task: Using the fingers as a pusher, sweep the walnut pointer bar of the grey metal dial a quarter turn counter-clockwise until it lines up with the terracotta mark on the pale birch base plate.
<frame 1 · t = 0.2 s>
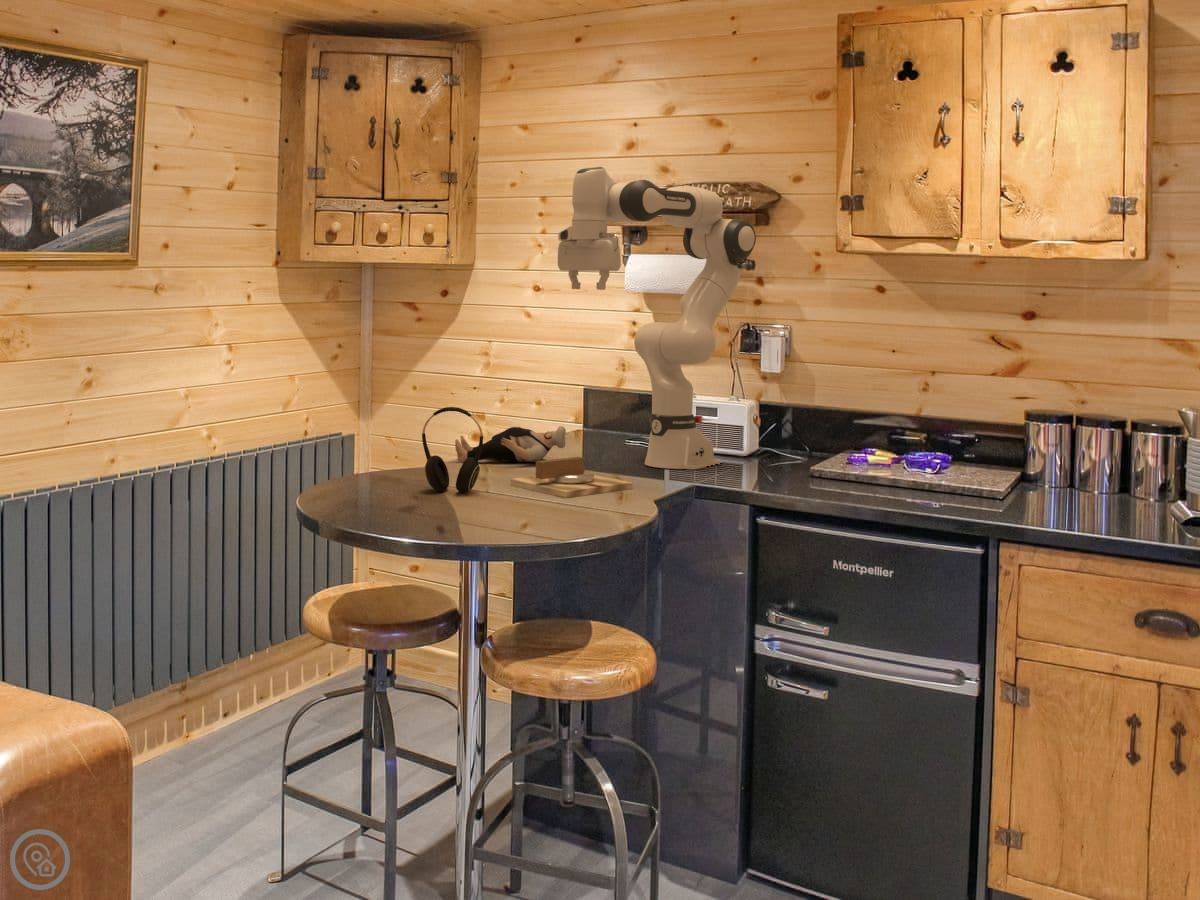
hand: (588, 289, 281), 47 cm above the countertop, tool pointing down, fingers open, 8 cm apart
dial plate: (571, 486, 272), on the countertop
headphones: (452, 492, 263), on the countertop
dial: (564, 469, 270), point 4 cm above the countertop, hinge at 0.0°
figurine: (511, 462, 310), on the countertop
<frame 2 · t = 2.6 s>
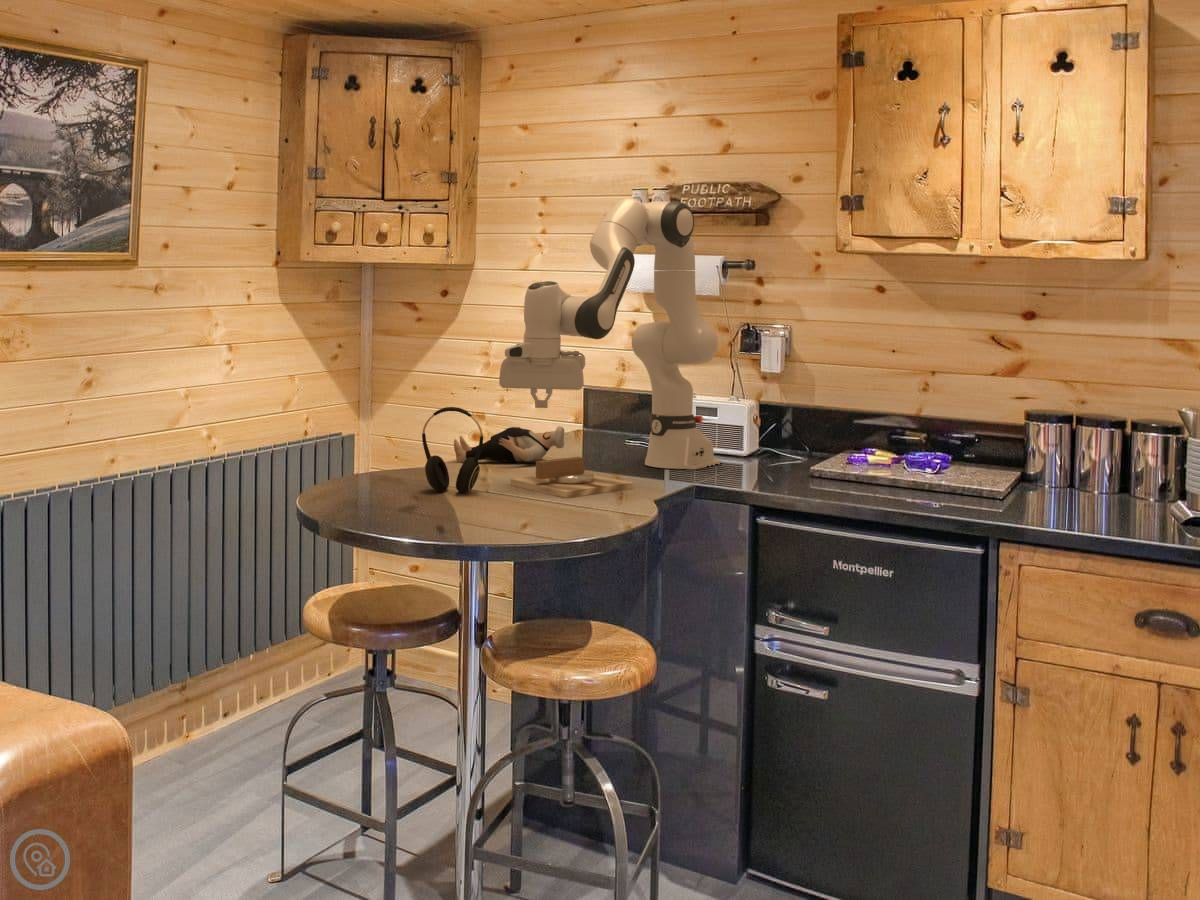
hand: (541, 407, 270), 19 cm above the countertop, tool pointing down, fingers closed
nothing on the countertop moved.
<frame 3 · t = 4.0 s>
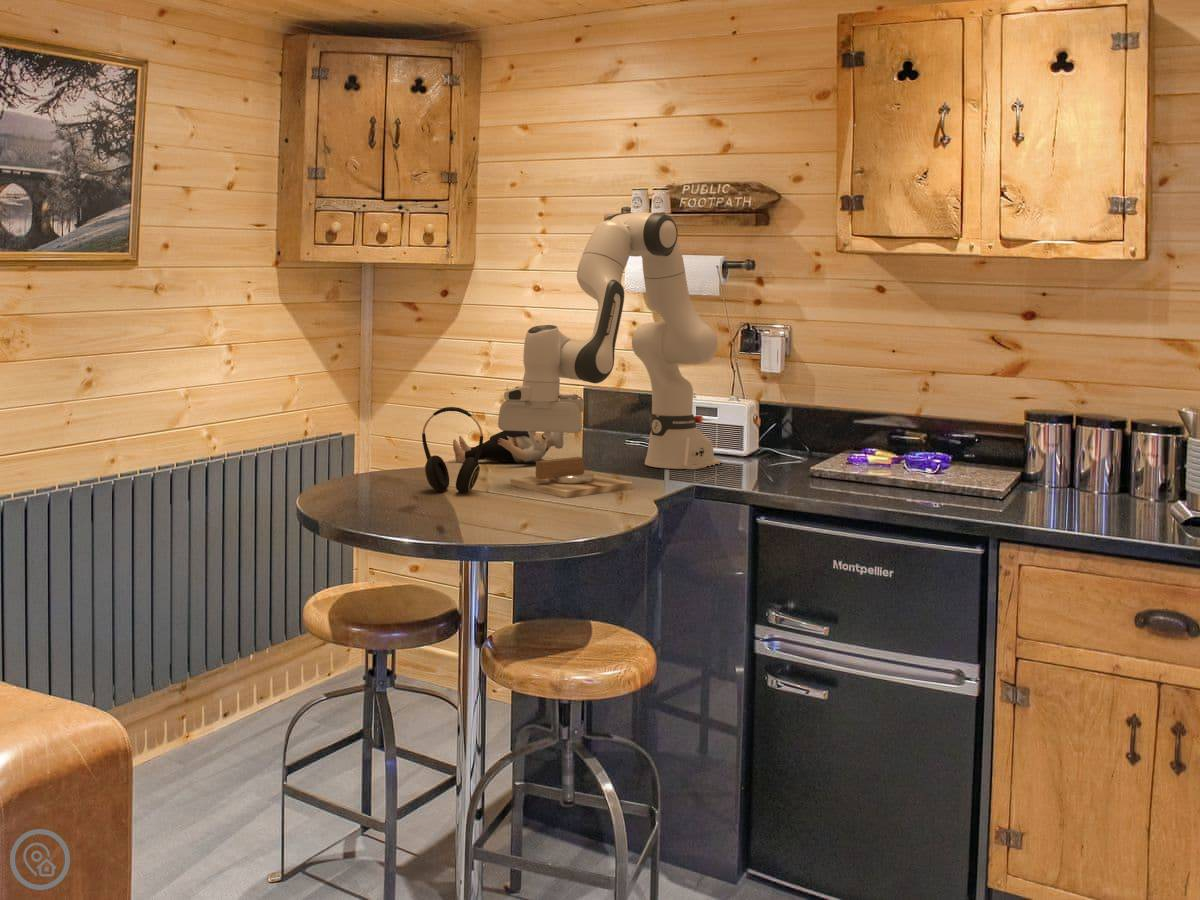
hand: (539, 450, 271), 9 cm above the countertop, tool pointing down, fingers closed
nothing on the countertop moved.
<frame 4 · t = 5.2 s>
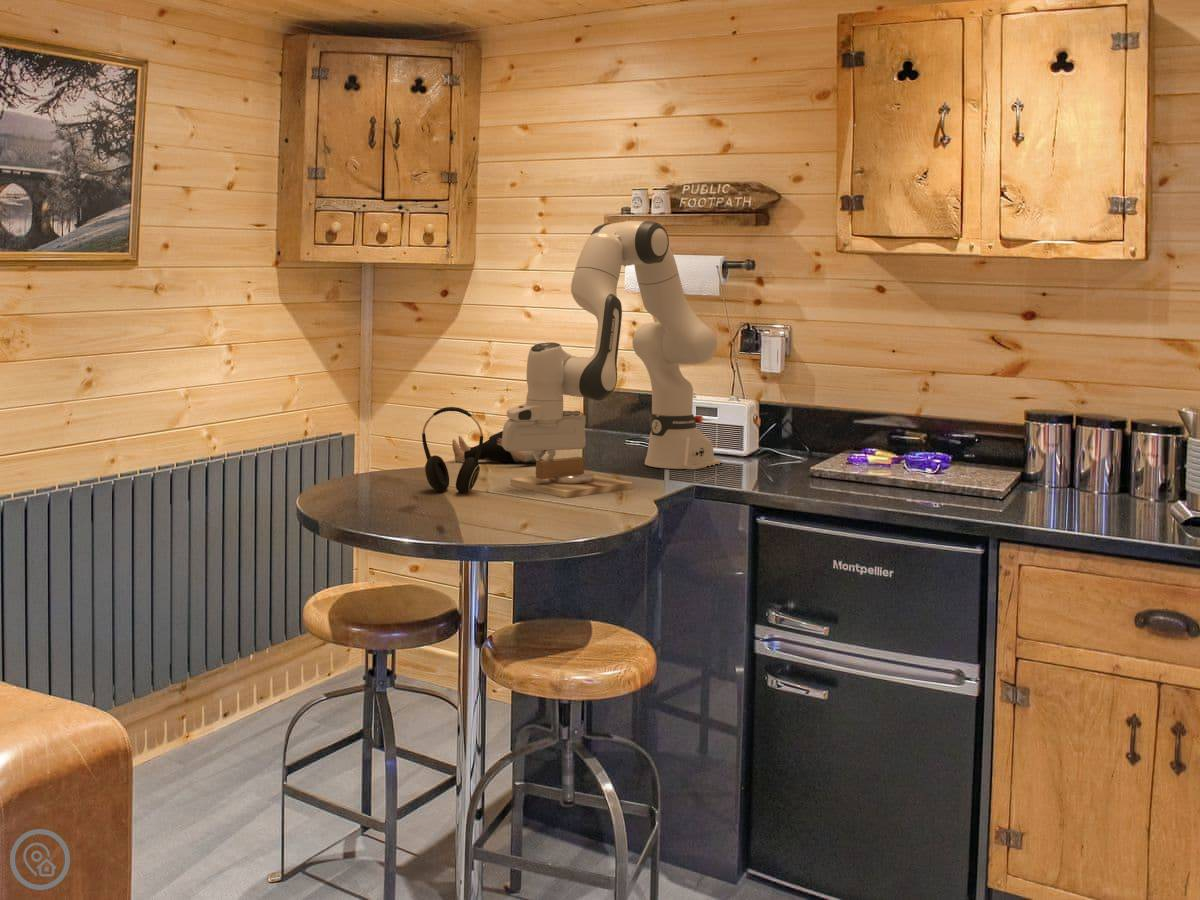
hand: (543, 468, 269), 5 cm above the countertop, tool pointing down, fingers closed
dial: (564, 469, 270), point 4 cm above the countertop, hinge at 0.1°, touching gripper
everything else where it was.
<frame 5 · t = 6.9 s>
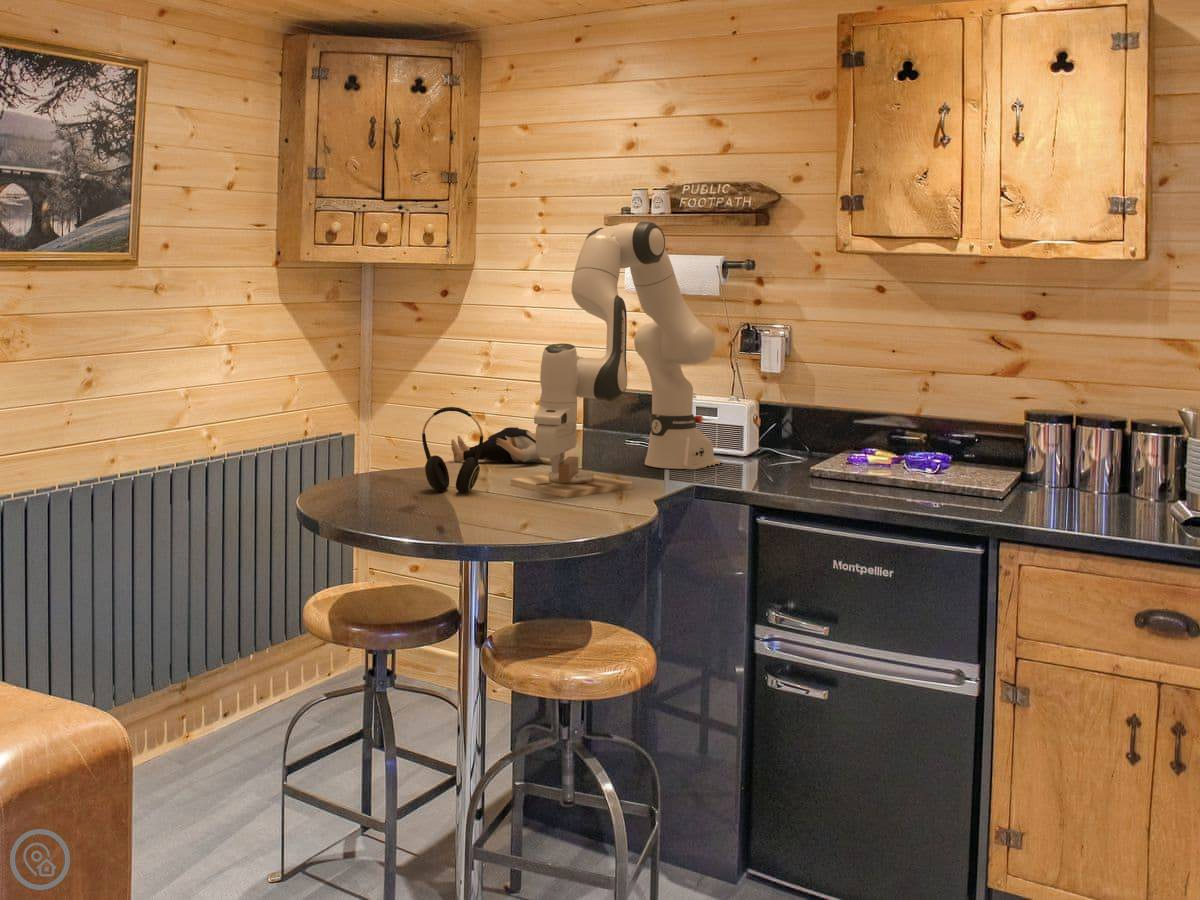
hand: (556, 471, 265), 5 cm above the countertop, tool pointing down, fingers closed
dial: (569, 470, 269), point 4 cm above the countertop, hinge at 39.9°, touching gripper
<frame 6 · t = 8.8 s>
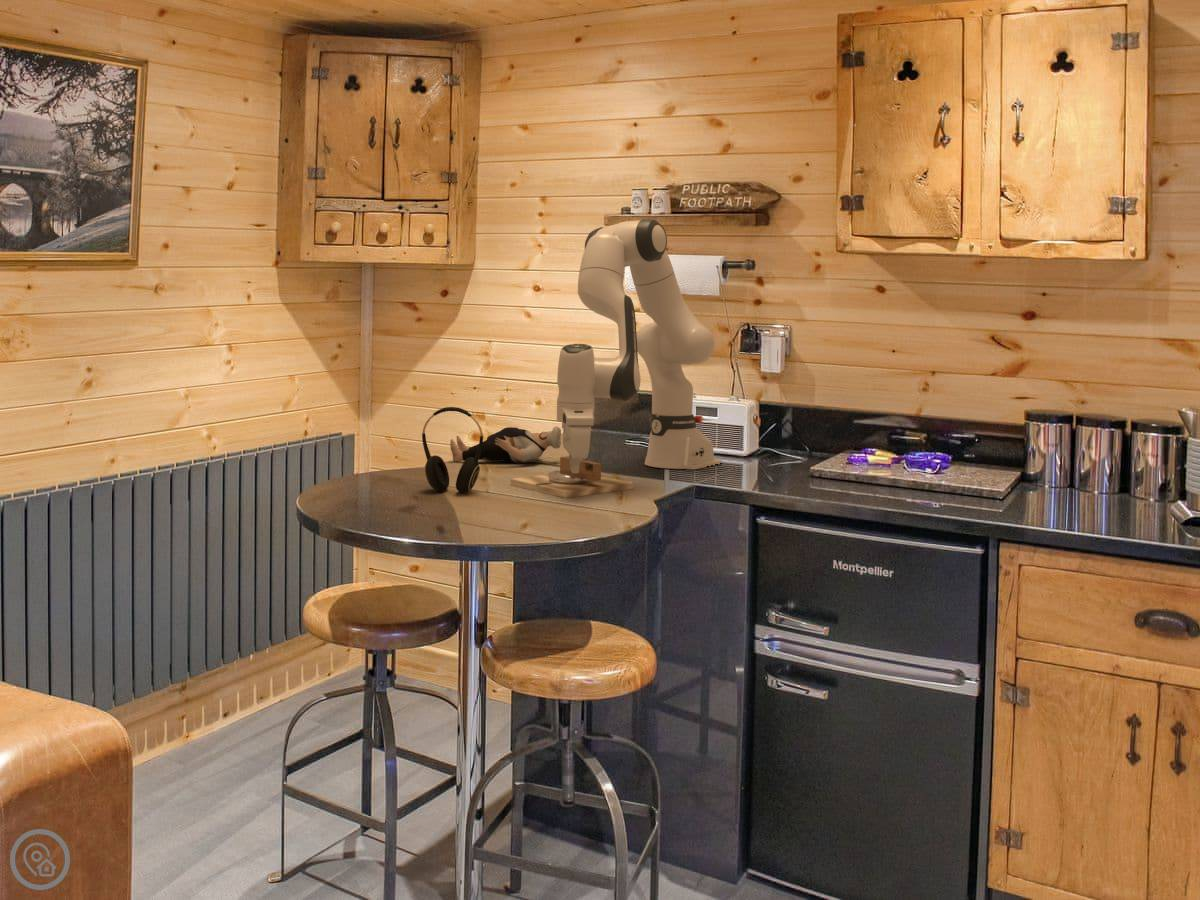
hand: (574, 472, 264), 5 cm above the countertop, tool pointing down, fingers closed
dial: (577, 470, 270), point 4 cm above the countertop, hinge at 87.2°
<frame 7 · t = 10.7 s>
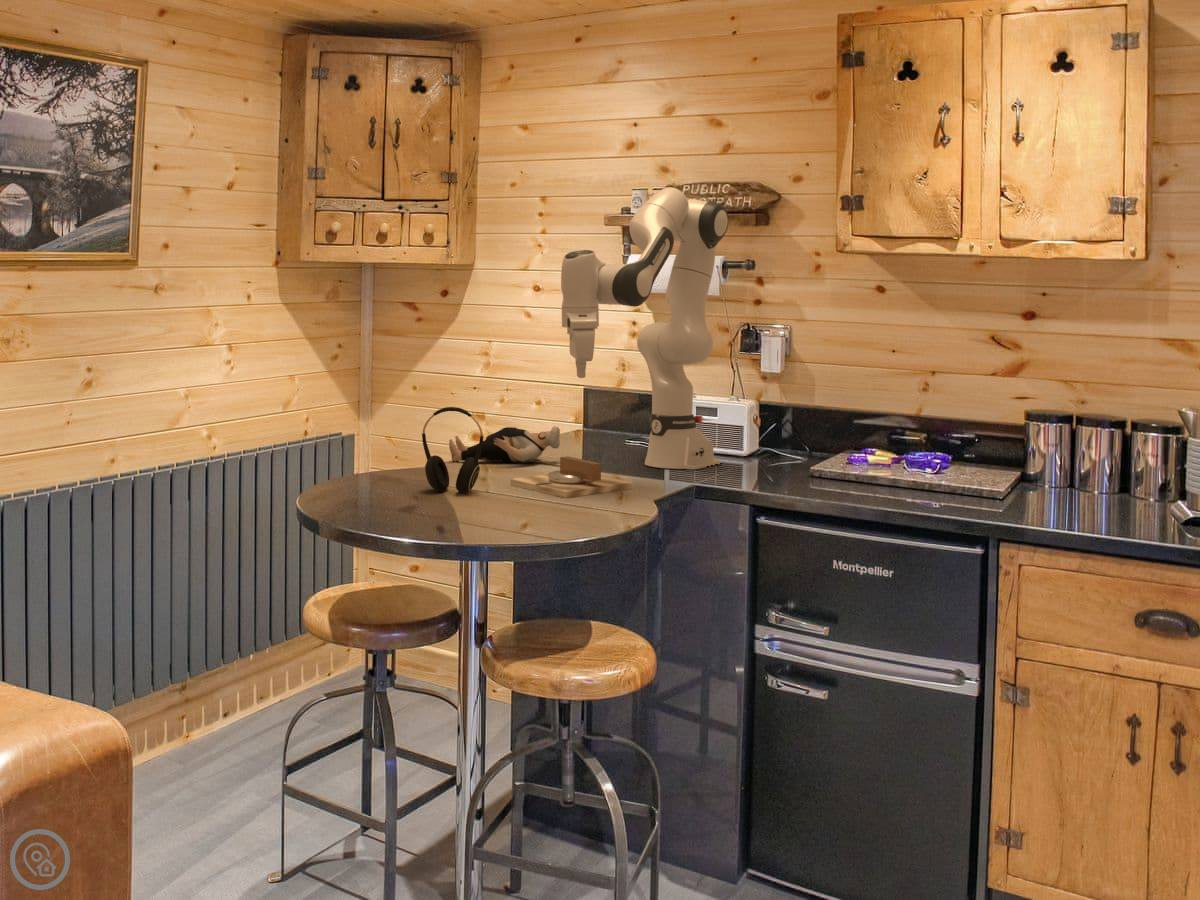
hand: (581, 377, 270), 27 cm above the countertop, tool pointing down, fingers closed
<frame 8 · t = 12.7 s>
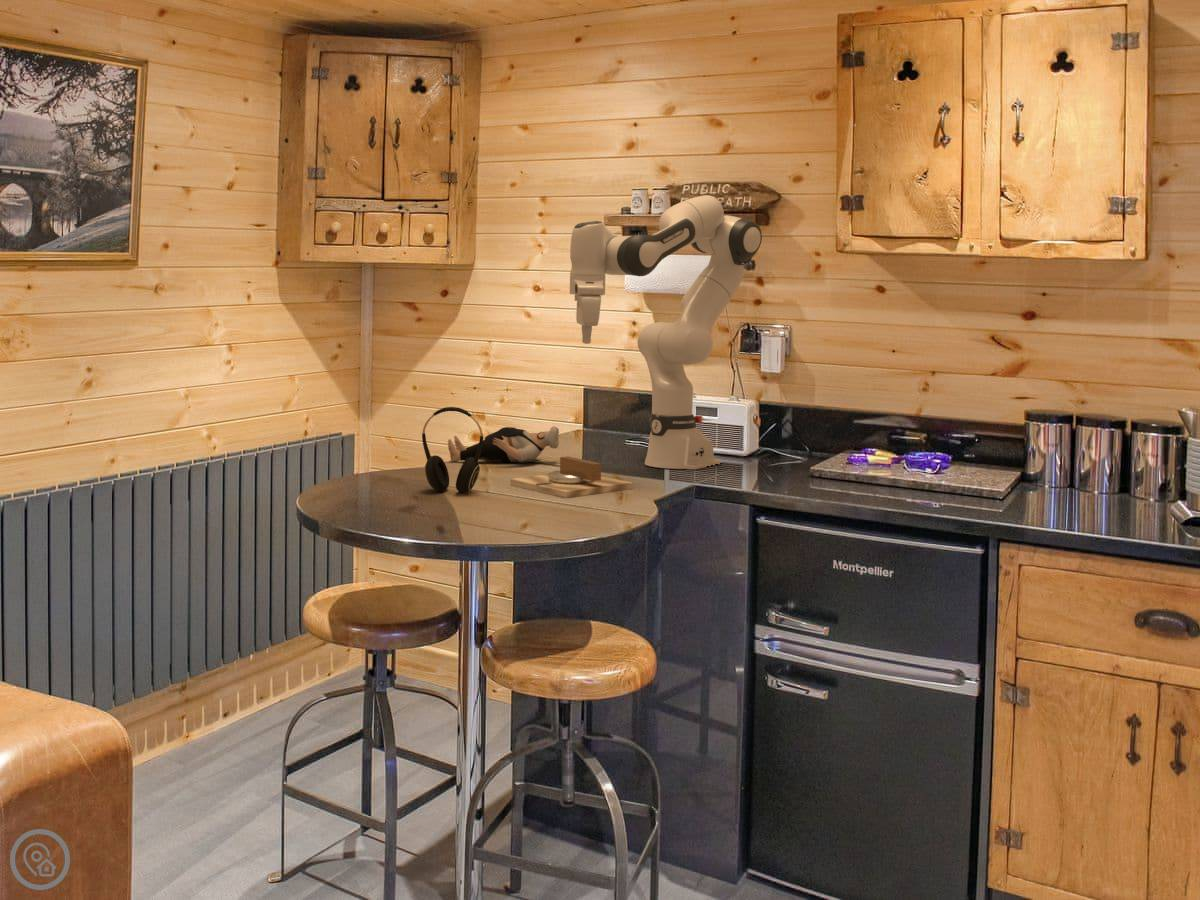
hand: (586, 343, 280), 34 cm above the countertop, tool pointing down, fingers closed
at the end: dial at +87° (first picture: +0°); figurine moved 2.0 cm from its start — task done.
